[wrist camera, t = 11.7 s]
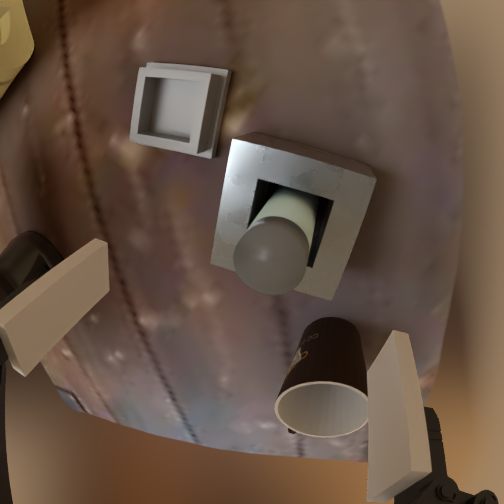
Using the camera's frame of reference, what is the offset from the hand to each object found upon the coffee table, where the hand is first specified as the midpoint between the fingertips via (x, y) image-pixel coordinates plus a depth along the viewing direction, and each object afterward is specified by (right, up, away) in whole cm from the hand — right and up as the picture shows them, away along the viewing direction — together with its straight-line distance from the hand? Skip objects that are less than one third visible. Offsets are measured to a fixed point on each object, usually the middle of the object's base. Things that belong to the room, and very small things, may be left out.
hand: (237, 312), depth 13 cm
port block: (+4, +7, +14) cm, 17 cm away
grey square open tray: (-6, +16, +13) cm, 21 cm away
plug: (+4, +7, +14) cm, 17 cm away
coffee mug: (+8, -8, +21) cm, 24 cm away
